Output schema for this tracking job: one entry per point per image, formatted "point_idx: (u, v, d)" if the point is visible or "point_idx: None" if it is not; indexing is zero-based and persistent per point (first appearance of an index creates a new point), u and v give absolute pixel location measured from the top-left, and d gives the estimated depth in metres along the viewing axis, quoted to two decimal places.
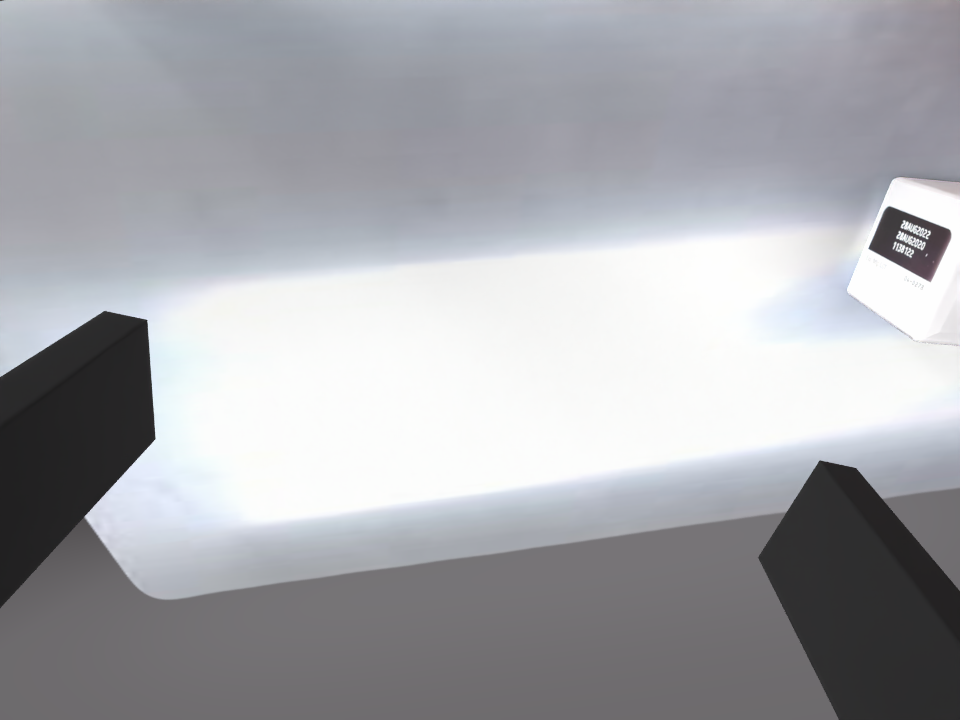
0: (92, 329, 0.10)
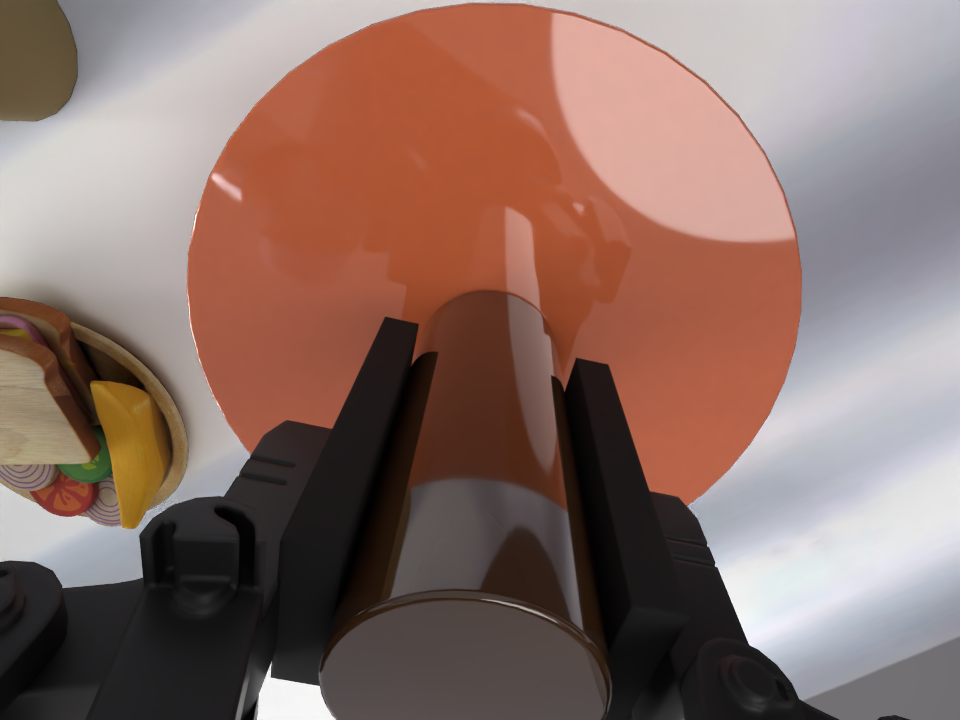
0: (388, 332, 0.12)
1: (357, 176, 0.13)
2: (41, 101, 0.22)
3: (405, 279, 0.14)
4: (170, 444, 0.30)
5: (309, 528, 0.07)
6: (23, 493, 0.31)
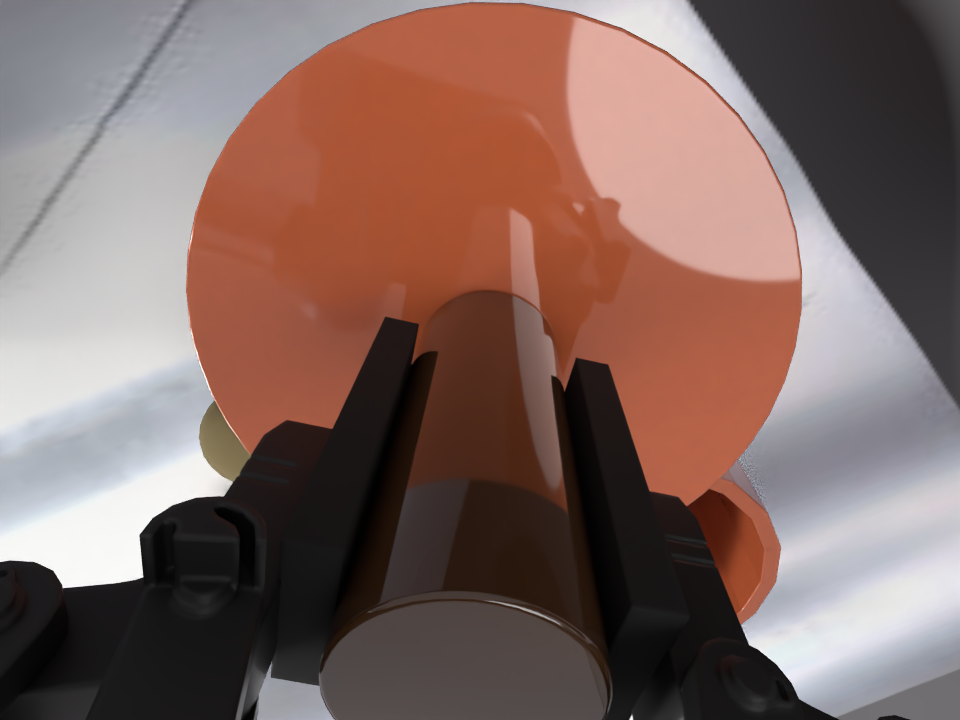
0: (388, 332, 0.12)
1: (357, 176, 0.13)
2: None
3: (405, 279, 0.14)
4: None
5: (309, 528, 0.07)
6: None
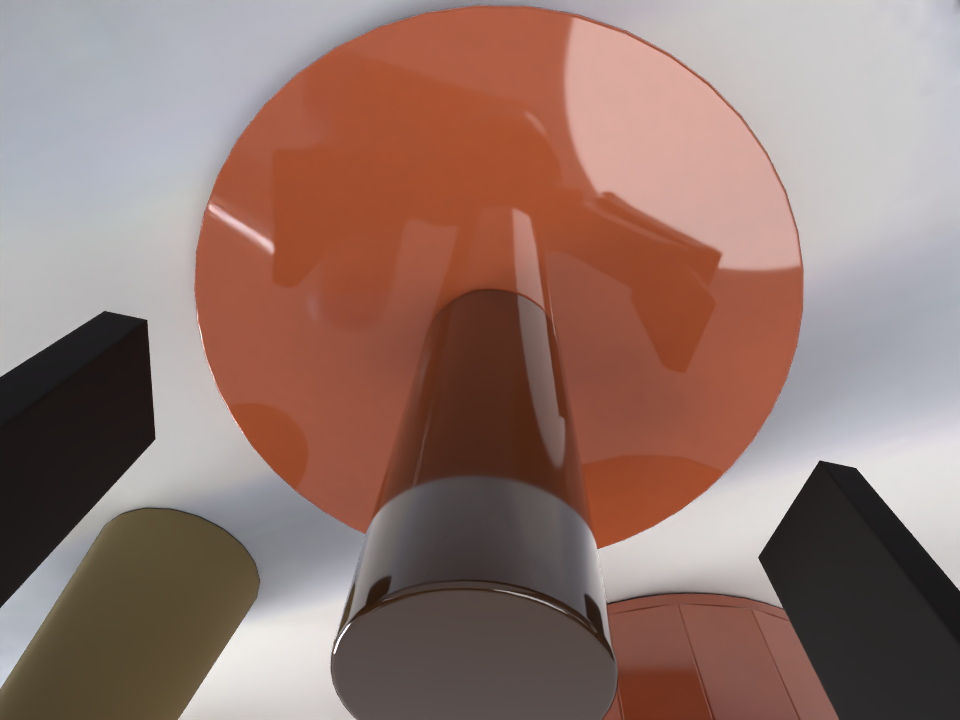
0: (92, 330, 0.10)
1: (363, 176, 0.13)
2: None
3: (411, 278, 0.14)
4: None
5: None
6: None
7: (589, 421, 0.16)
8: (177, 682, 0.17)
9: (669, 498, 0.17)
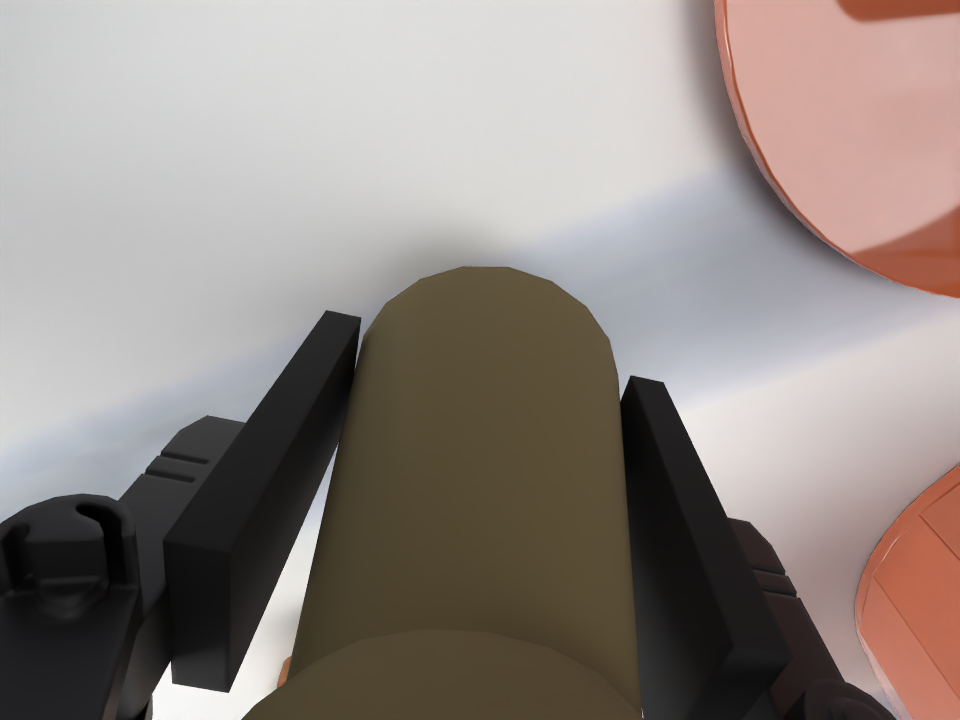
0: (327, 325, 0.11)
1: None
2: None
3: None
4: None
5: (197, 527, 0.07)
6: None
7: None
8: None
9: None
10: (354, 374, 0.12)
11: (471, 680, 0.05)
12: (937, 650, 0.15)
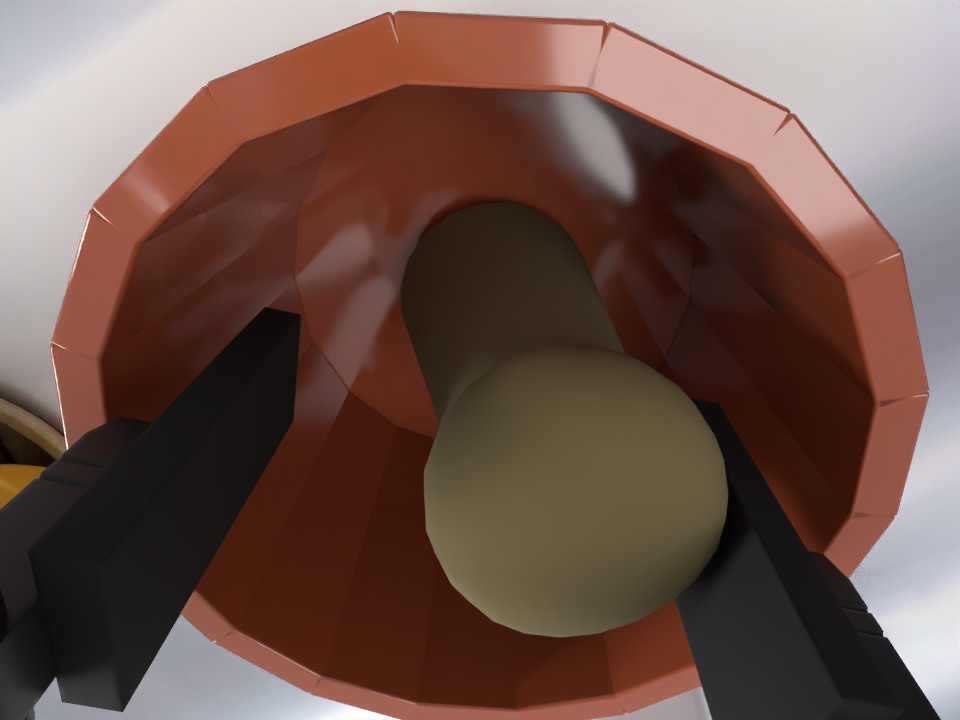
0: (262, 322, 0.11)
1: None
2: None
3: None
4: None
5: (71, 537, 0.06)
6: None
7: None
8: None
9: None
10: (407, 285, 0.17)
11: (582, 347, 0.10)
12: None
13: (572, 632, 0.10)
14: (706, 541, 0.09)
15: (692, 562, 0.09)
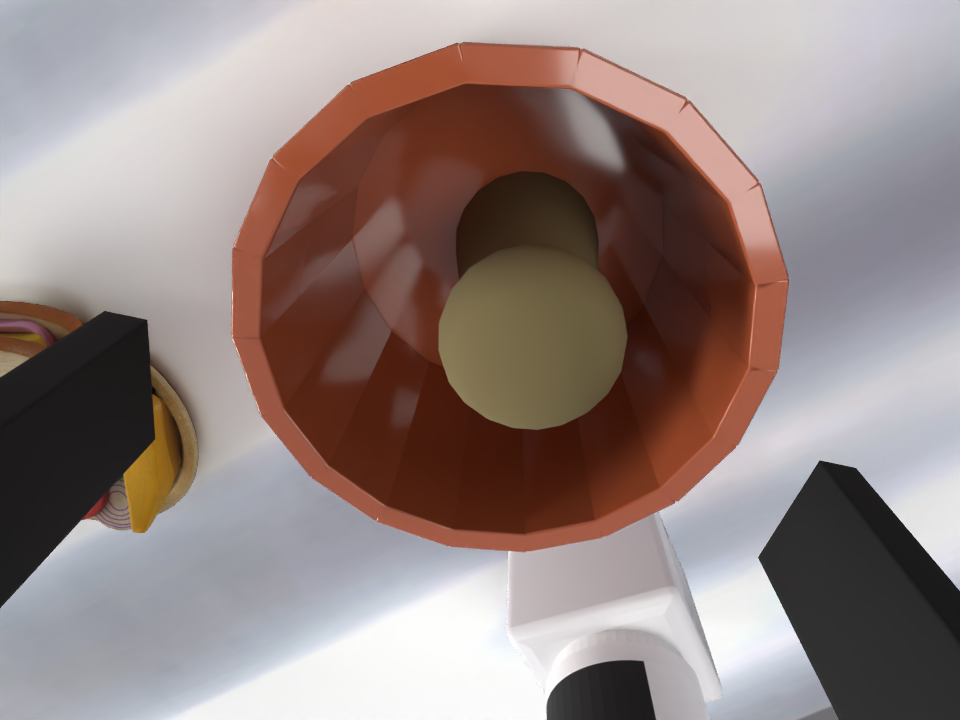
0: (92, 329, 0.10)
1: None
2: None
3: None
4: (180, 449, 0.30)
5: None
6: None
7: None
8: None
9: None
10: (460, 226, 0.23)
11: None
12: None
13: (518, 419, 0.15)
14: (602, 365, 0.14)
15: (593, 379, 0.15)
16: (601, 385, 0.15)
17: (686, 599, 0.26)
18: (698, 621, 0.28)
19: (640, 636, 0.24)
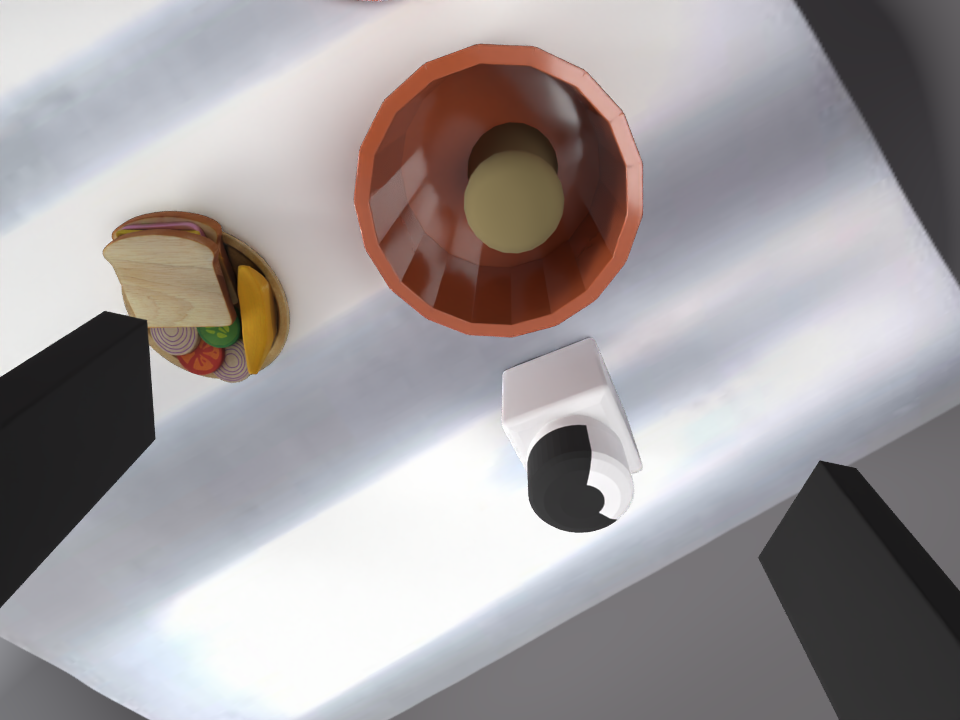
0: (91, 329, 0.10)
1: None
2: None
3: None
4: (276, 321, 0.44)
5: None
6: (171, 359, 0.45)
7: None
8: None
9: None
10: (471, 157, 0.37)
11: None
12: None
13: (506, 243, 0.29)
14: (549, 209, 0.28)
15: (545, 217, 0.28)
16: (549, 222, 0.29)
17: (618, 405, 0.40)
18: (629, 429, 0.42)
19: (586, 418, 0.38)
